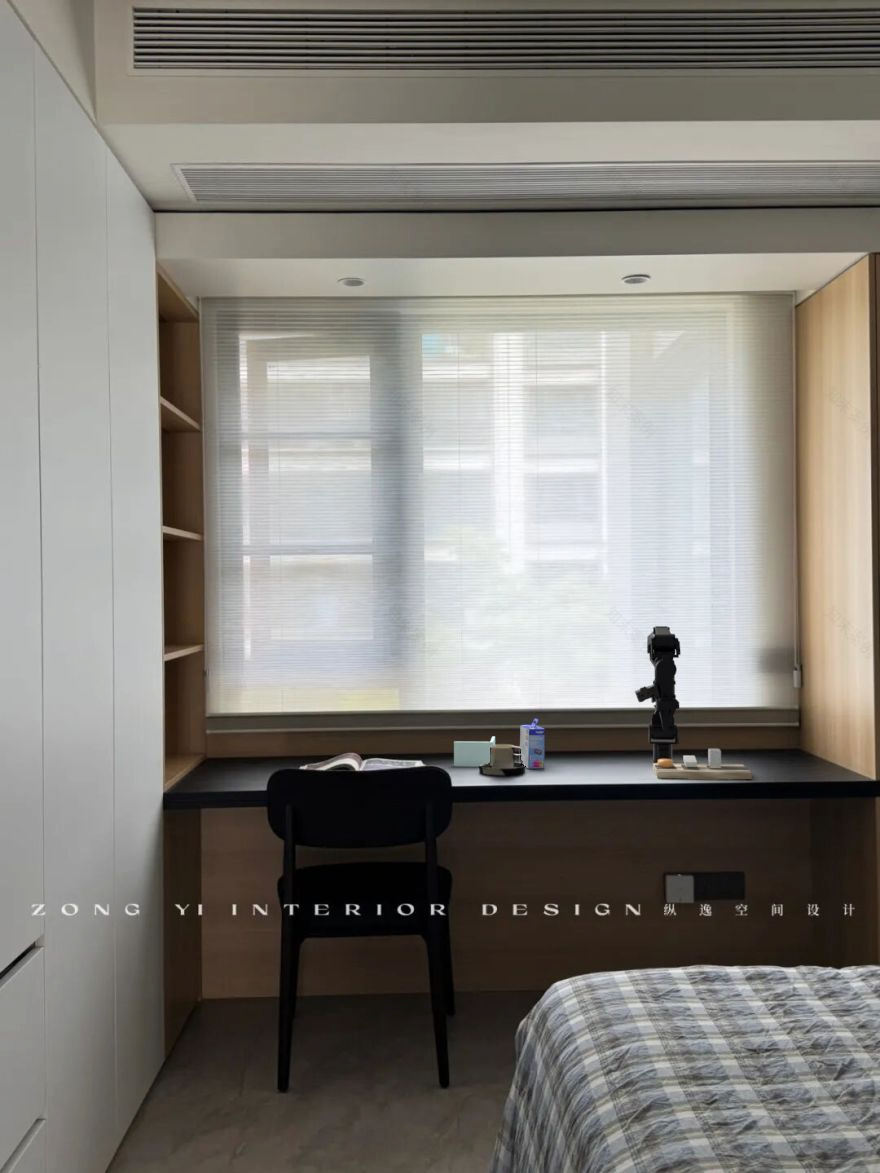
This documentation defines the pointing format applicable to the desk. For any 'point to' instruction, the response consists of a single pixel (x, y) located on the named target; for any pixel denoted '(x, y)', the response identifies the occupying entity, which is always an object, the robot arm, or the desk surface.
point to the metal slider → (714, 758)
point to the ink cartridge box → (532, 745)
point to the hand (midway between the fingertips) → (665, 730)
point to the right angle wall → (472, 753)
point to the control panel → (703, 771)
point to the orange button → (665, 763)
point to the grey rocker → (690, 761)
